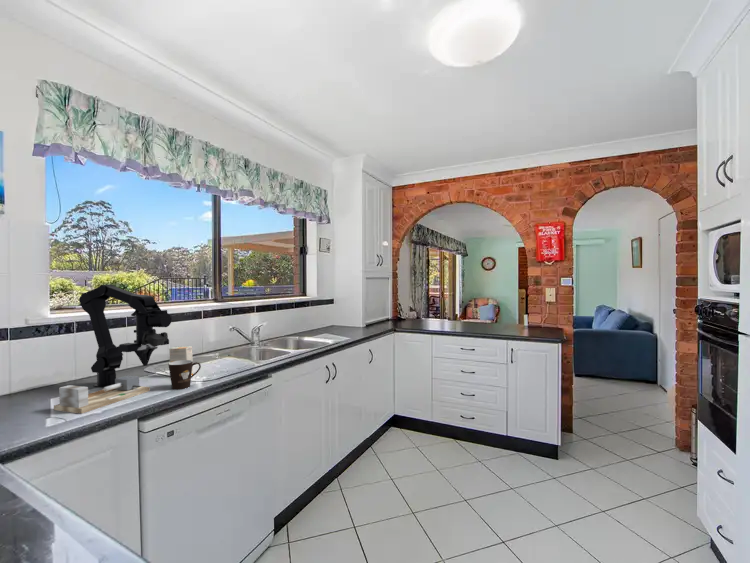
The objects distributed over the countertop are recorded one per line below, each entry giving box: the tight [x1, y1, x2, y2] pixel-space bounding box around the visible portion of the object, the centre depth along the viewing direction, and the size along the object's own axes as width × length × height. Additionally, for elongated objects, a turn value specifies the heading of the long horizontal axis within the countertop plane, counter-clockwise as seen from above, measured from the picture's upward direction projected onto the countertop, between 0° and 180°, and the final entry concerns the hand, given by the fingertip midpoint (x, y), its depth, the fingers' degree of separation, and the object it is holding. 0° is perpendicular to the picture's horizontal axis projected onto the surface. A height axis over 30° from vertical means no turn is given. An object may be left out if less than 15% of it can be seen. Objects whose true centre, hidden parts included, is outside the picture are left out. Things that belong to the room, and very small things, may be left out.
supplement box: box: [168, 345, 194, 375], centre depth 165 cm, size 8×5×13 cm, turn 84°
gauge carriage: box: [103, 375, 141, 391], centre depth 138 cm, size 9×11×4 cm
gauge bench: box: [53, 384, 151, 414], centre depth 134 cm, size 13×25×8 cm, turn 162°
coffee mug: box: [168, 360, 202, 391], centre depth 148 cm, size 12×9×10 cm
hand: (145, 365), depth 149 cm, fingers closed
